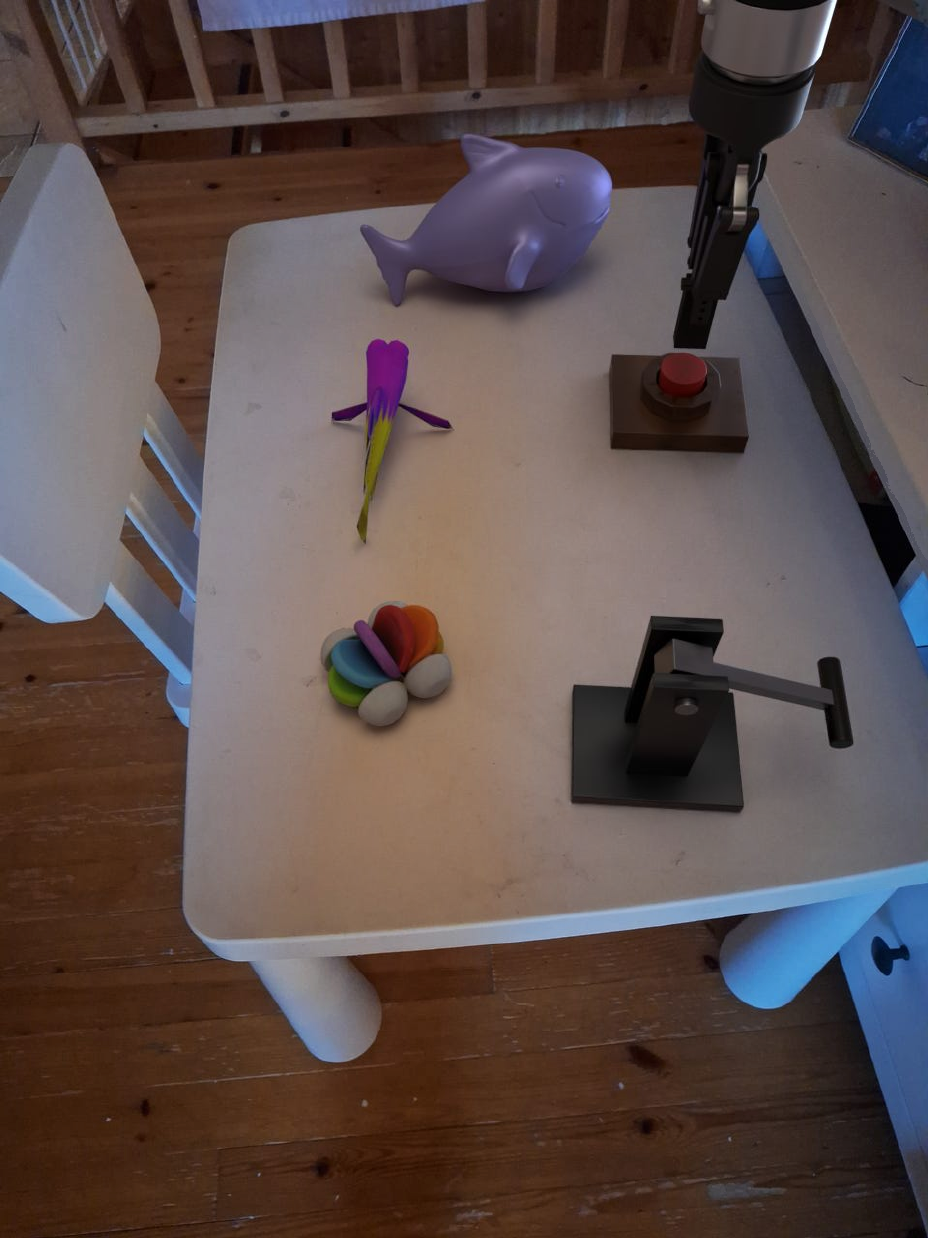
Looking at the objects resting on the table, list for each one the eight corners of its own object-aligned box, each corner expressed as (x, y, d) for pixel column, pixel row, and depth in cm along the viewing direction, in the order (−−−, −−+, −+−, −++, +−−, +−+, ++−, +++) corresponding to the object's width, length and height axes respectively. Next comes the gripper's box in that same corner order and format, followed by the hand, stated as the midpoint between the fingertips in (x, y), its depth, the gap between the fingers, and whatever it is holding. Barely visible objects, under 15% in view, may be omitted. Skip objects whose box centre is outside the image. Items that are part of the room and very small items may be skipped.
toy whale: (638, 282, 88) (616, 104, 78) (393, 353, 90) (342, 187, 80) (606, 243, 99) (583, 82, 89) (387, 307, 100) (341, 156, 91)
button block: (734, 374, 87) (744, 342, 84) (743, 453, 82) (754, 422, 78) (609, 371, 88) (613, 339, 84) (610, 448, 82) (615, 417, 79)
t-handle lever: (826, 671, 61) (849, 655, 59) (838, 753, 58) (864, 739, 56) (652, 629, 58) (671, 611, 56) (656, 713, 55) (675, 697, 53)
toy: (460, 379, 86) (453, 314, 76) (436, 567, 80) (424, 523, 71) (340, 371, 87) (317, 306, 77) (307, 557, 81) (279, 512, 72)
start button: (701, 367, 83) (705, 352, 81) (704, 399, 80) (708, 384, 79) (657, 366, 83) (660, 351, 81) (659, 397, 81) (662, 383, 79)
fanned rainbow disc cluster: (470, 682, 70) (467, 635, 64) (363, 748, 68) (350, 705, 62) (411, 607, 74) (403, 555, 68) (309, 667, 72) (291, 619, 65)
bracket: (729, 699, 69) (782, 594, 56) (740, 813, 64) (799, 725, 52) (572, 691, 70) (589, 585, 57) (571, 803, 65) (589, 714, 52)
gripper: (692, 3, 61) (642, 291, 81) (704, 111, 55) (647, 396, 75) (804, 3, 61) (727, 293, 81) (831, 112, 54) (739, 399, 74)
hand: (689, 342), depth 78 cm, fingers closed
